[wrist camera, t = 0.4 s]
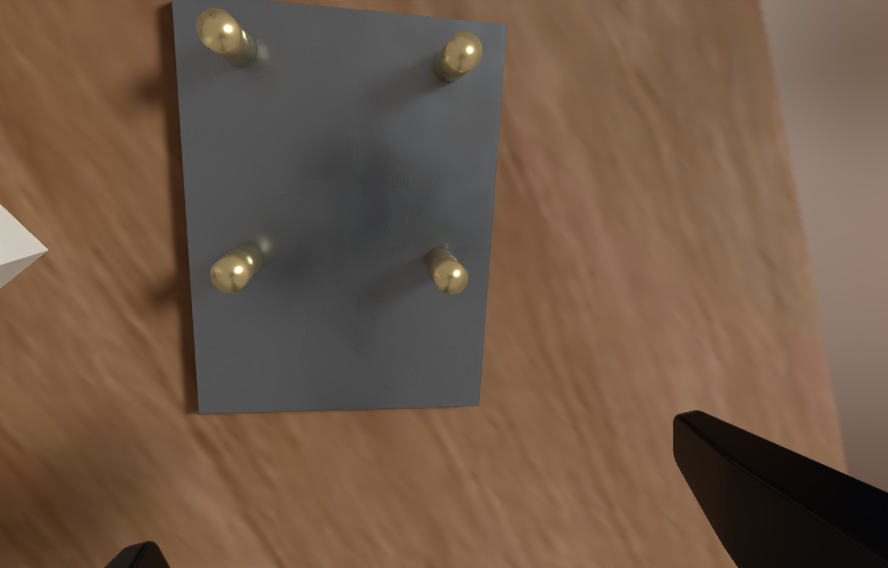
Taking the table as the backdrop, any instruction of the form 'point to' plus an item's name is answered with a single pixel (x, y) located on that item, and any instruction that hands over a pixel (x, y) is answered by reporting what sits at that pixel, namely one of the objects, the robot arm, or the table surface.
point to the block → (16, 247)
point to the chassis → (337, 203)
